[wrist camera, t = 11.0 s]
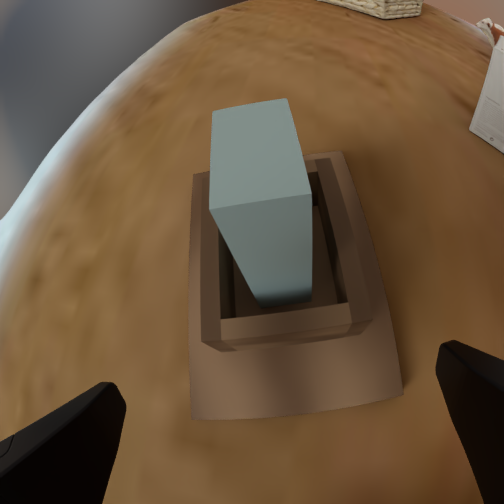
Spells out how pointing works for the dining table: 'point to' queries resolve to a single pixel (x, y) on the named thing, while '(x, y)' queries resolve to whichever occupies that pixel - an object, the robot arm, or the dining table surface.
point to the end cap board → (291, 316)
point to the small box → (492, 102)
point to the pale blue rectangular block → (263, 200)
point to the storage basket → (382, 7)
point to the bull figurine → (491, 30)
